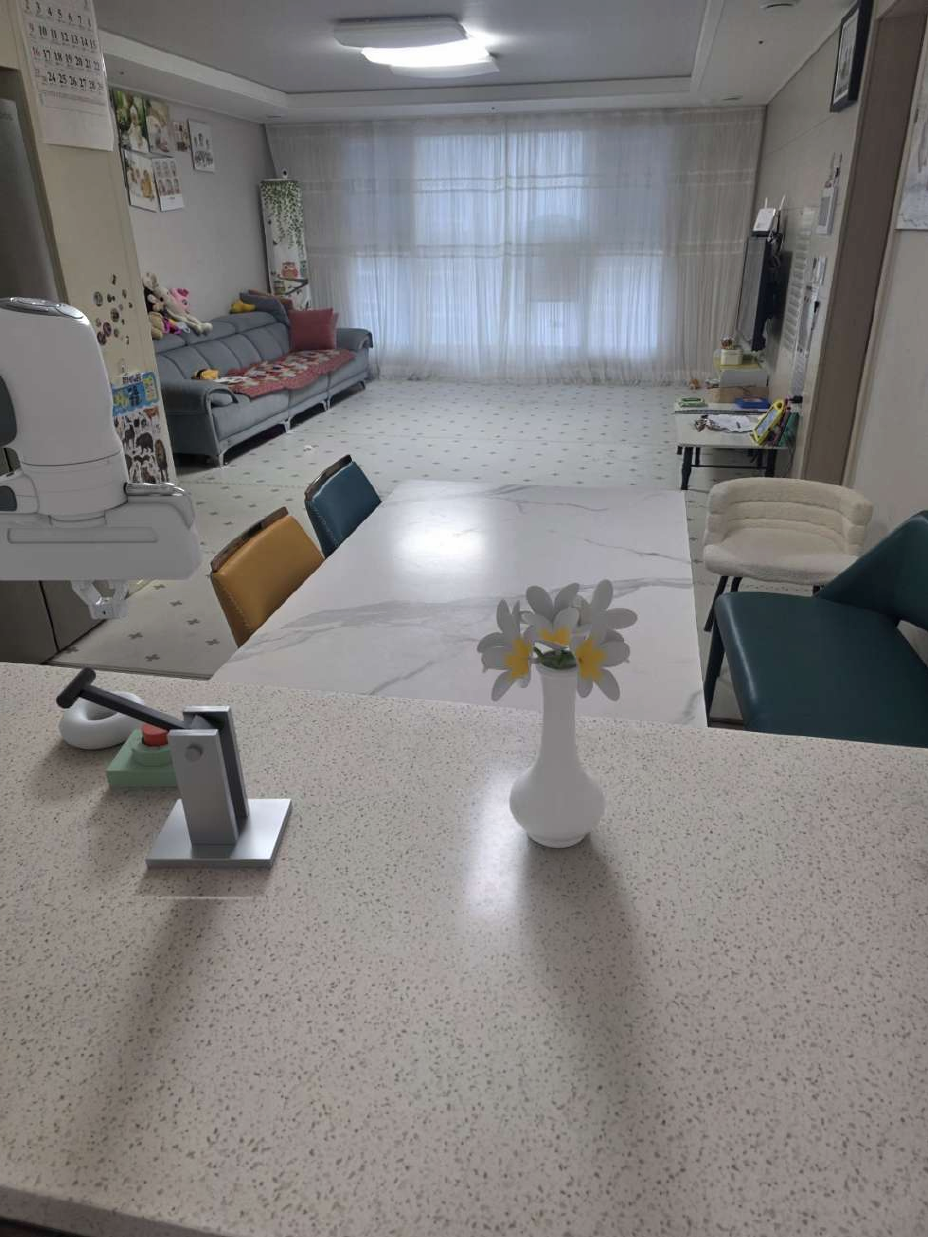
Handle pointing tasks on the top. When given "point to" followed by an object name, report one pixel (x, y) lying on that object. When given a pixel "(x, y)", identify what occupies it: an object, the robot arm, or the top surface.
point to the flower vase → (558, 700)
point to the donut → (98, 724)
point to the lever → (126, 705)
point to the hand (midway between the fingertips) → (109, 616)
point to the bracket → (215, 804)
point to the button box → (141, 765)
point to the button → (154, 735)
